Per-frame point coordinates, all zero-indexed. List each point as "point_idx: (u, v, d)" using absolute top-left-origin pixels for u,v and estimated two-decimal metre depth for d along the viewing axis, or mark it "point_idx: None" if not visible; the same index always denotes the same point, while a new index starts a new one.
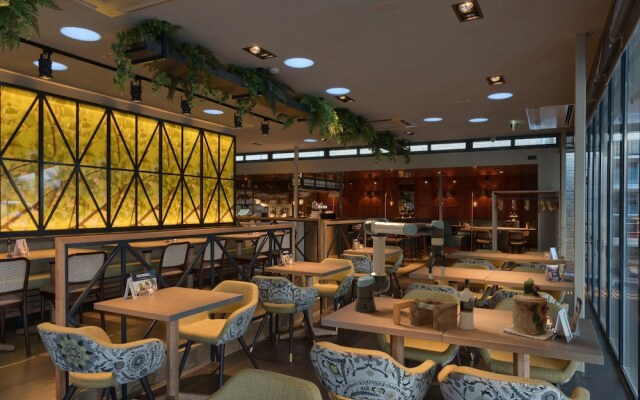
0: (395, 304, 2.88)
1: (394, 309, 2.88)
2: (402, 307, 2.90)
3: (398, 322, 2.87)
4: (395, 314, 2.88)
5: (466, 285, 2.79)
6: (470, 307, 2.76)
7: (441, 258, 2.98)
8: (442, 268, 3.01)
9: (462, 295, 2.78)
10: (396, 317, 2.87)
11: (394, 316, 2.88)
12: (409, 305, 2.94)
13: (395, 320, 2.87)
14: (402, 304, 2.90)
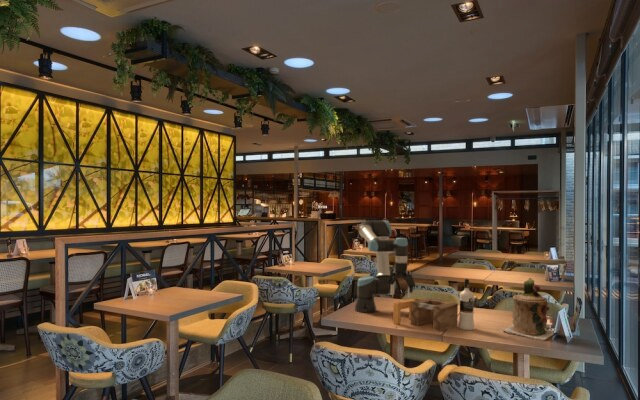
0: (395, 304, 2.88)
1: (394, 309, 2.88)
2: (402, 307, 2.90)
3: (398, 322, 2.87)
4: (395, 314, 2.88)
5: (466, 285, 2.79)
6: (470, 307, 2.76)
7: (403, 277, 2.88)
8: None
9: (462, 295, 2.78)
10: (396, 317, 2.87)
11: (394, 316, 2.88)
12: (409, 305, 2.94)
13: (395, 320, 2.87)
14: (402, 304, 2.90)
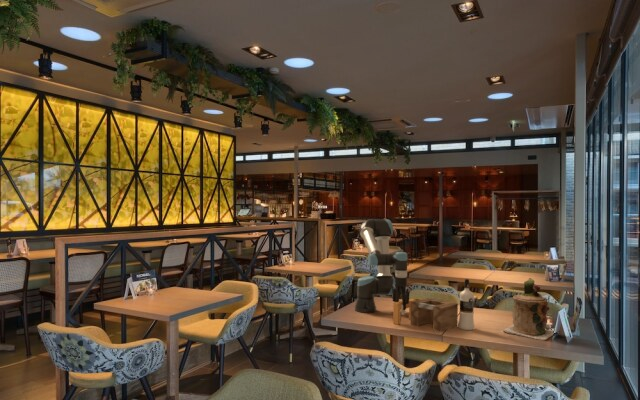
0: (395, 304, 2.88)
1: (394, 309, 2.88)
2: None
3: (398, 322, 2.87)
4: (395, 314, 2.88)
5: (466, 285, 2.79)
6: (470, 307, 2.76)
7: None
8: None
9: (462, 295, 2.78)
10: (396, 317, 2.87)
11: (394, 316, 2.88)
12: (409, 305, 2.94)
13: (395, 320, 2.87)
14: None
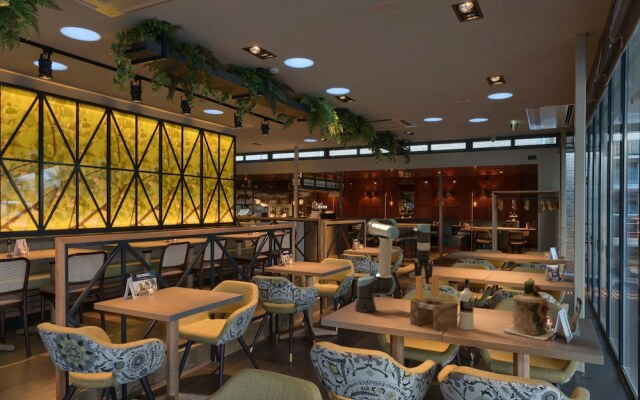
0: (418, 278, 2.75)
1: (417, 283, 2.76)
2: None
3: (421, 296, 2.74)
4: (417, 288, 2.75)
5: (466, 285, 2.79)
6: (470, 307, 2.76)
7: (423, 265, 2.77)
8: None
9: (462, 295, 2.78)
10: (419, 291, 2.74)
11: (416, 290, 2.75)
12: (432, 279, 2.82)
13: (418, 294, 2.75)
14: None
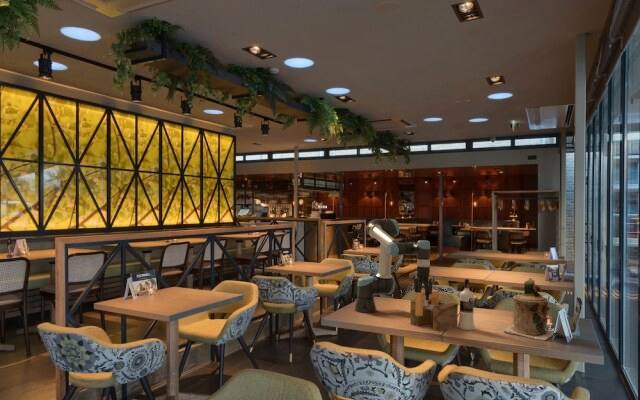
0: (417, 294, 2.75)
1: (416, 300, 2.75)
2: None
3: (421, 313, 2.74)
4: (417, 305, 2.75)
5: (466, 285, 2.79)
6: (470, 307, 2.76)
7: (423, 282, 2.76)
8: None
9: (462, 295, 2.78)
10: (419, 308, 2.74)
11: (416, 307, 2.75)
12: (432, 296, 2.82)
13: (418, 311, 2.74)
14: None
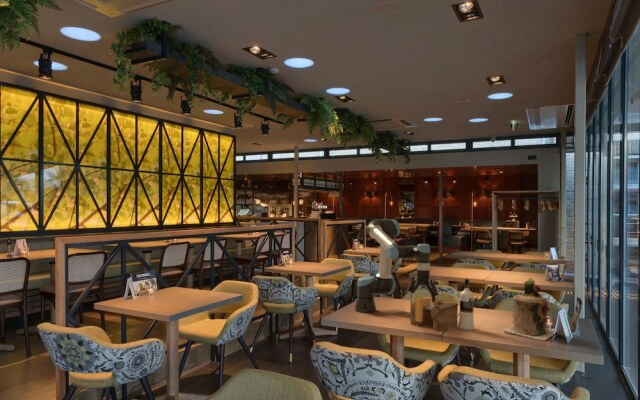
0: (417, 300, 2.75)
1: (416, 306, 2.75)
2: (424, 304, 2.77)
3: (420, 319, 2.74)
4: (417, 311, 2.75)
5: (466, 285, 2.79)
6: (470, 307, 2.76)
7: (425, 285, 2.76)
8: None
9: (462, 295, 2.78)
10: (418, 314, 2.74)
11: (416, 313, 2.75)
12: None
13: (418, 317, 2.74)
14: (424, 301, 2.77)
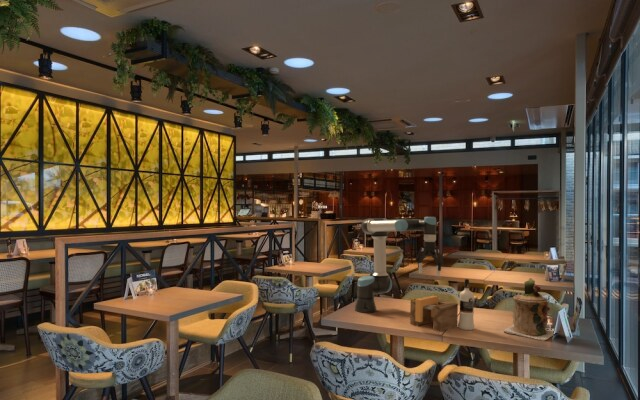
0: (417, 301, 2.75)
1: (416, 306, 2.75)
2: (424, 304, 2.77)
3: (420, 319, 2.74)
4: (417, 311, 2.75)
5: (466, 285, 2.79)
6: (470, 307, 2.76)
7: (431, 255, 2.90)
8: None
9: (462, 295, 2.78)
10: (418, 314, 2.74)
11: (416, 313, 2.75)
12: (431, 302, 2.82)
13: (418, 317, 2.74)
14: (424, 301, 2.77)
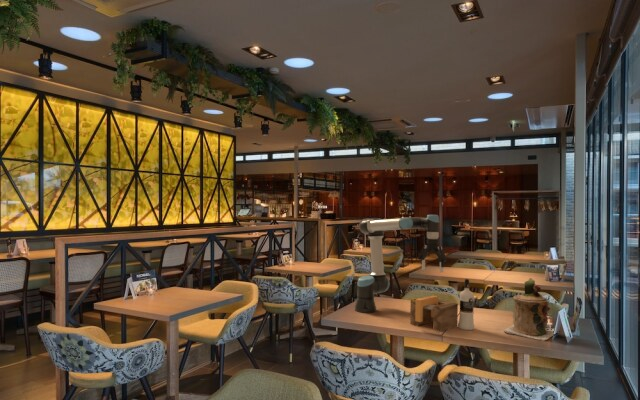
0: (417, 301, 2.75)
1: (416, 306, 2.75)
2: (424, 304, 2.77)
3: (420, 319, 2.74)
4: (417, 311, 2.75)
5: (466, 285, 2.79)
6: (470, 307, 2.76)
7: (434, 252, 2.98)
8: None
9: (462, 295, 2.78)
10: (418, 314, 2.74)
11: (416, 313, 2.75)
12: (431, 302, 2.82)
13: (418, 317, 2.74)
14: (424, 301, 2.77)
